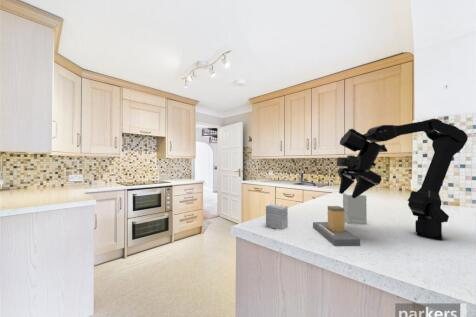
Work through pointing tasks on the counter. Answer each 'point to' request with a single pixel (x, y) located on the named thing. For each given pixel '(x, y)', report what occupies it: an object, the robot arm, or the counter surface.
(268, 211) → the medicine box
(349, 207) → the supplement box
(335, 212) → the plug
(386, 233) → the counter surface
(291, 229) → the counter surface
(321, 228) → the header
